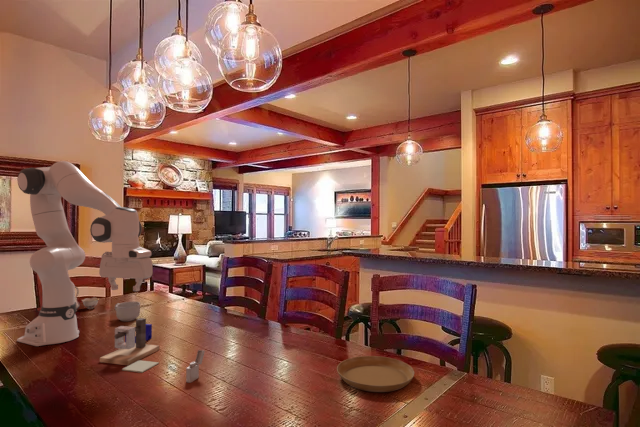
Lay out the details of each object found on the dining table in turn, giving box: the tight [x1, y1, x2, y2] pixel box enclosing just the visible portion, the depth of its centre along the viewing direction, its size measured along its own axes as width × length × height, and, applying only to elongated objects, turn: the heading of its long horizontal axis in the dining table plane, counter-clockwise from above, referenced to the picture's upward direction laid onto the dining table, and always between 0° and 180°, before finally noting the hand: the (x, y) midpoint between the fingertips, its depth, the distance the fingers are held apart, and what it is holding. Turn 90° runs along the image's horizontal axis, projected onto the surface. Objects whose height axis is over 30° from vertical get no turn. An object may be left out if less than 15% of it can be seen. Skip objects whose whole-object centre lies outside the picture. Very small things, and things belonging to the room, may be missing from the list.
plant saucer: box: [336, 355, 415, 393], centre depth 117 cm, size 24×24×3 cm
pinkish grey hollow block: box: [114, 325, 136, 349], centre depth 134 cm, size 6×3×7 cm, turn 76°
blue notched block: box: [124, 323, 153, 343], centre depth 152 cm, size 12×4×6 cm, turn 168°
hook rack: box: [99, 317, 161, 366], centre depth 137 cm, size 12×16×12 cm
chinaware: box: [75, 286, 101, 312], centre depth 201 cm, size 28×17×17 cm, turn 179°
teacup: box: [114, 301, 141, 322], centre depth 186 cm, size 14×11×8 cm
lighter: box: [185, 349, 206, 383], centre depth 118 cm, size 7×2×8 cm, turn 162°
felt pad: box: [121, 359, 159, 374], centre depth 126 cm, size 8×8×1 cm
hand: (125, 290), depth 134 cm, fingers open, 8 cm apart
